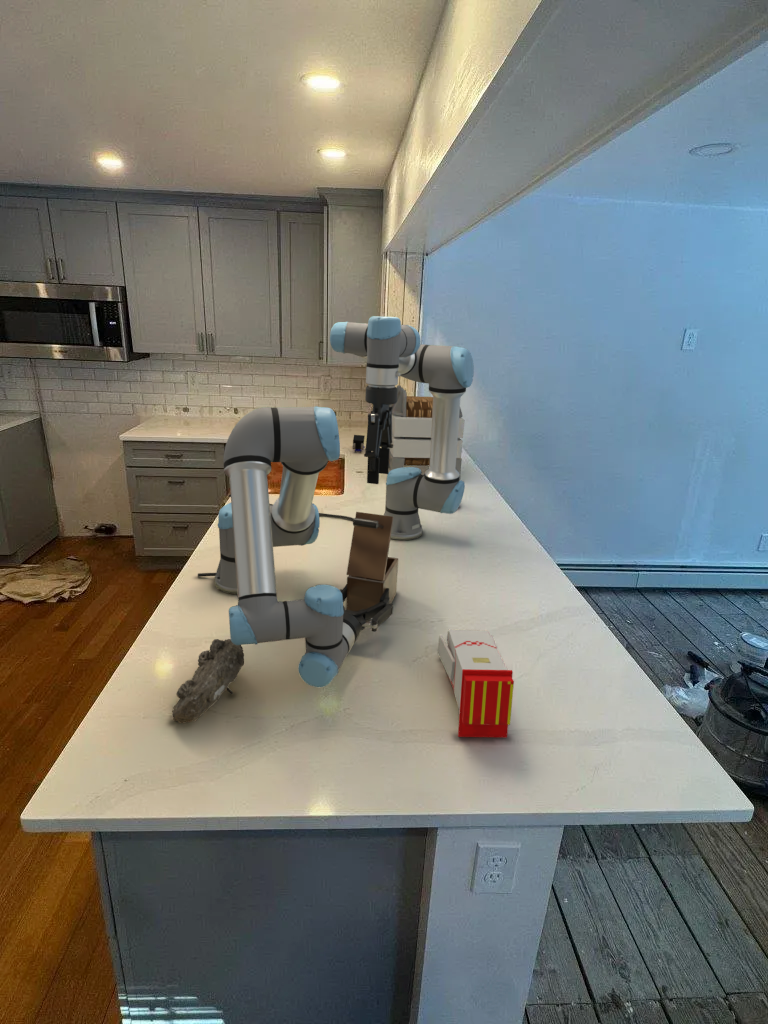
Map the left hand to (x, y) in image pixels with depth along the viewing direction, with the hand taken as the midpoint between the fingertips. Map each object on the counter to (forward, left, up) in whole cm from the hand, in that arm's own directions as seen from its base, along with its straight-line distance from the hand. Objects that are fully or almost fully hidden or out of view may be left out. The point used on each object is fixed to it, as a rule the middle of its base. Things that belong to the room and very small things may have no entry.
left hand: (368, 589), depth 146 cm
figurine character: (-55, +167, -6) cm, 176 cm away
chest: (0, +4, -6) cm, 8 cm away
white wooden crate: (-14, +136, -6) cm, 137 cm away
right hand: (0, +5, +29) cm, 29 cm away
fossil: (-20, -41, -6) cm, 46 cm away
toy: (+30, -25, -6) cm, 39 cm away
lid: (0, +1, +12) cm, 12 cm away
